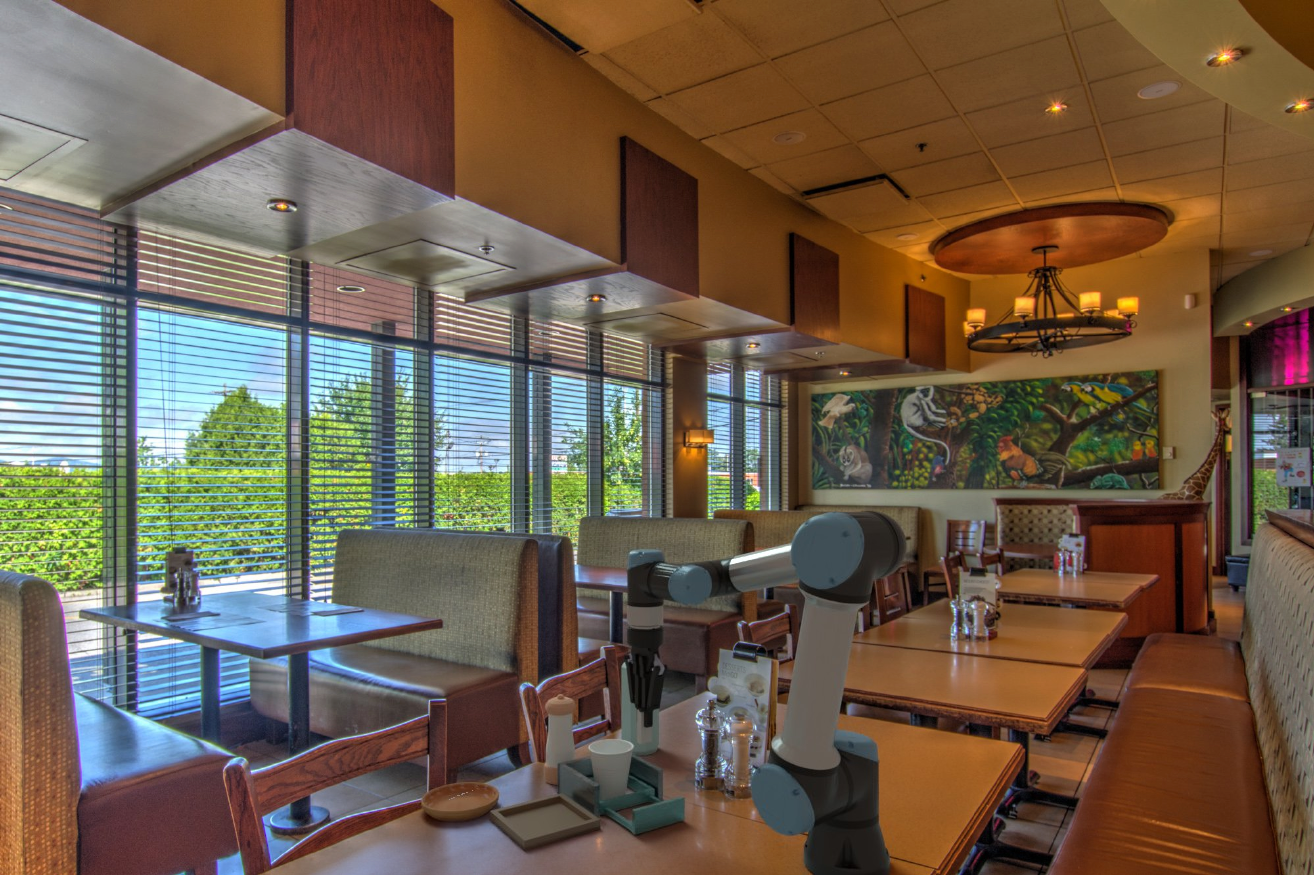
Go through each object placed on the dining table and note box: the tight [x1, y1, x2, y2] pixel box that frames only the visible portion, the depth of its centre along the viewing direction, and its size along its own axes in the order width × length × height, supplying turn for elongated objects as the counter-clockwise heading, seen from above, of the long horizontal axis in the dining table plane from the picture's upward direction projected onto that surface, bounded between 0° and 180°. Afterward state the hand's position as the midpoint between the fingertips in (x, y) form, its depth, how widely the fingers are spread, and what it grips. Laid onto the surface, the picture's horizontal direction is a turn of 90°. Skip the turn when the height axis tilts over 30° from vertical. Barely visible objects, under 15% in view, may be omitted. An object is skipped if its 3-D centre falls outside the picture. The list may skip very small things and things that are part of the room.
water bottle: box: [620, 648, 660, 756], centre depth 208 cm, size 10×10×25 cm
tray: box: [489, 793, 602, 851], centre depth 163 cm, size 16×16×2 cm
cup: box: [588, 738, 634, 801], centre depth 177 cm, size 10×10×11 cm
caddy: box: [589, 775, 686, 835], centre depth 172 cm, size 26×14×4 cm, turn 34°
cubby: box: [556, 754, 664, 819], centre depth 177 cm, size 16×17×6 cm
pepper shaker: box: [543, 693, 577, 786], centre depth 188 cm, size 7×7×19 cm
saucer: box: [420, 781, 500, 822], centre depth 171 cm, size 16×16×3 cm
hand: (644, 741), depth 166 cm, fingers closed
